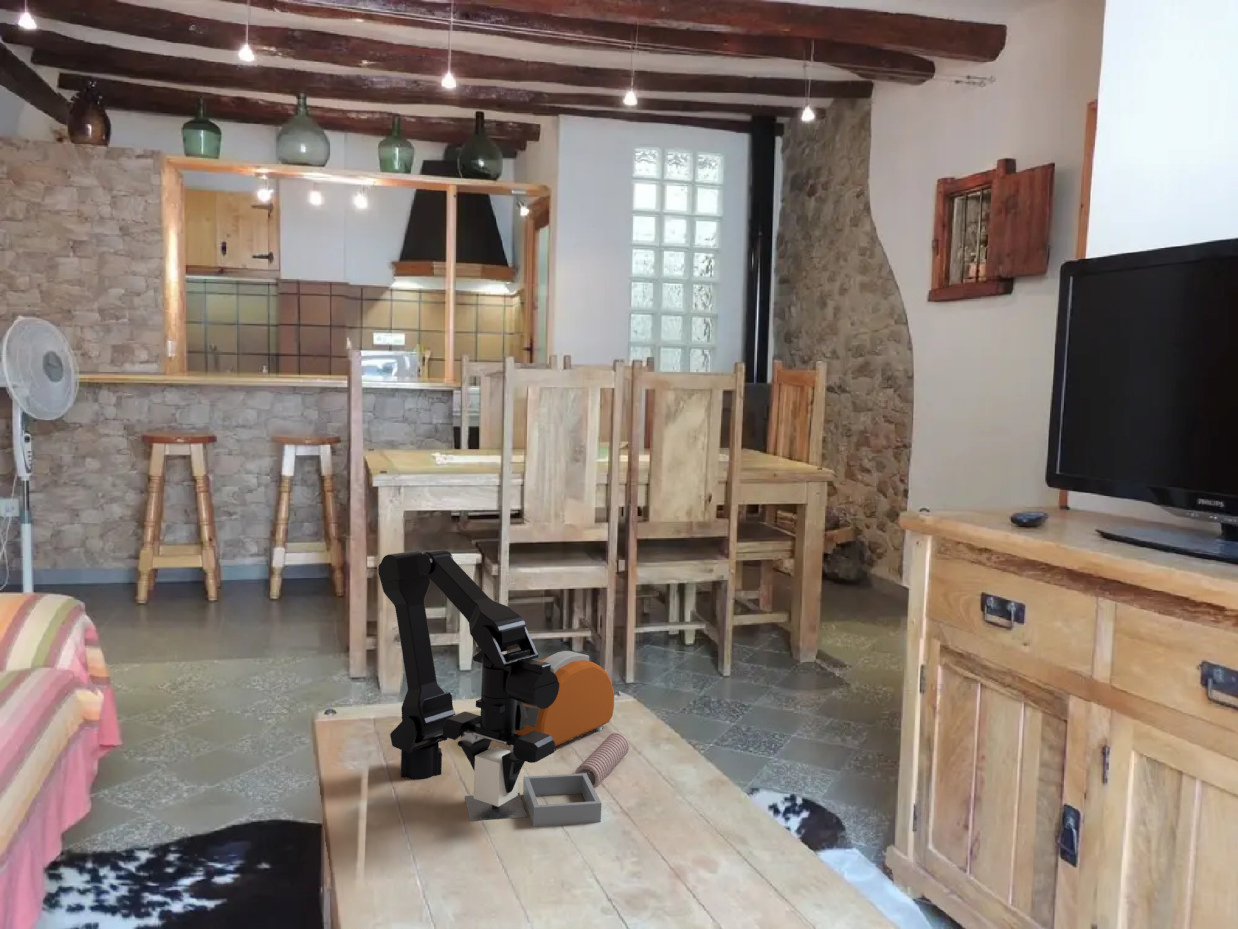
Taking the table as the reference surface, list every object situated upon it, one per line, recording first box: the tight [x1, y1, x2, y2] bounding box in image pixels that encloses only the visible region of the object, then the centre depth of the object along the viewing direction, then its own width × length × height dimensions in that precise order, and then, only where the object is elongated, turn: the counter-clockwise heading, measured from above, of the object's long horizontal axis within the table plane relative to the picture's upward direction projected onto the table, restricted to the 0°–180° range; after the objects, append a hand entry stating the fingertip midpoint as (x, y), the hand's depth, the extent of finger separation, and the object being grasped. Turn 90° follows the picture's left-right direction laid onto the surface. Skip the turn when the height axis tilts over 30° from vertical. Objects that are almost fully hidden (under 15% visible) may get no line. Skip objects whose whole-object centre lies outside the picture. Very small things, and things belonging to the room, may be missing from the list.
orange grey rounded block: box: [516, 650, 615, 747], centre depth 186 cm, size 23×9×17 cm, turn 144°
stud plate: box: [464, 792, 528, 822], centre depth 152 cm, size 9×9×5 cm
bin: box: [522, 773, 602, 827], centre depth 153 cm, size 11×12×4 cm
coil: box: [574, 732, 630, 788], centre depth 170 cm, size 5×5×18 cm
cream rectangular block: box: [473, 746, 519, 807], centre depth 152 cm, size 5×5×7 cm
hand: (496, 788), depth 152 cm, fingers closed on cream rectangular block, 5 cm apart
